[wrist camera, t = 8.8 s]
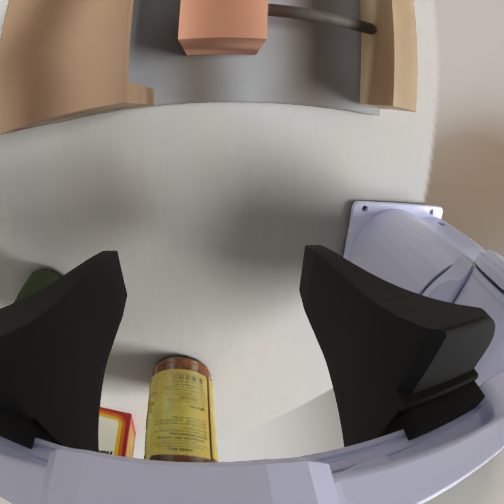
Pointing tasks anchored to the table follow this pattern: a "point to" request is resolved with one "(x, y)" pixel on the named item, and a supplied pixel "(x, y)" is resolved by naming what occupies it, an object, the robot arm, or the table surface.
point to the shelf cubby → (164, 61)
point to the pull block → (370, 24)
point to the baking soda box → (116, 433)
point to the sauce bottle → (181, 413)
